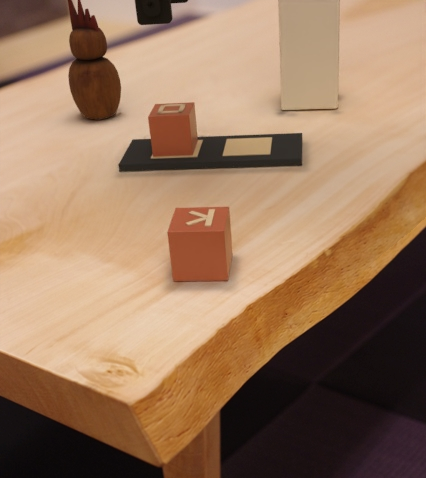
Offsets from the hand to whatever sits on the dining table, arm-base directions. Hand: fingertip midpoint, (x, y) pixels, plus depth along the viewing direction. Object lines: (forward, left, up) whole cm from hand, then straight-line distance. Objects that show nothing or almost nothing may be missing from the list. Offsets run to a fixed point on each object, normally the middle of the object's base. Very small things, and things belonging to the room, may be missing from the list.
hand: (165, 12), depth 72 cm
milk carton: (-14, -22, -16) cm, 31 cm away
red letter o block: (+1, -4, -15) cm, 16 cm away
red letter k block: (-5, +22, -16) cm, 28 cm away
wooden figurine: (+14, -20, -16) cm, 29 cm away
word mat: (-3, -4, -16) cm, 17 cm away
